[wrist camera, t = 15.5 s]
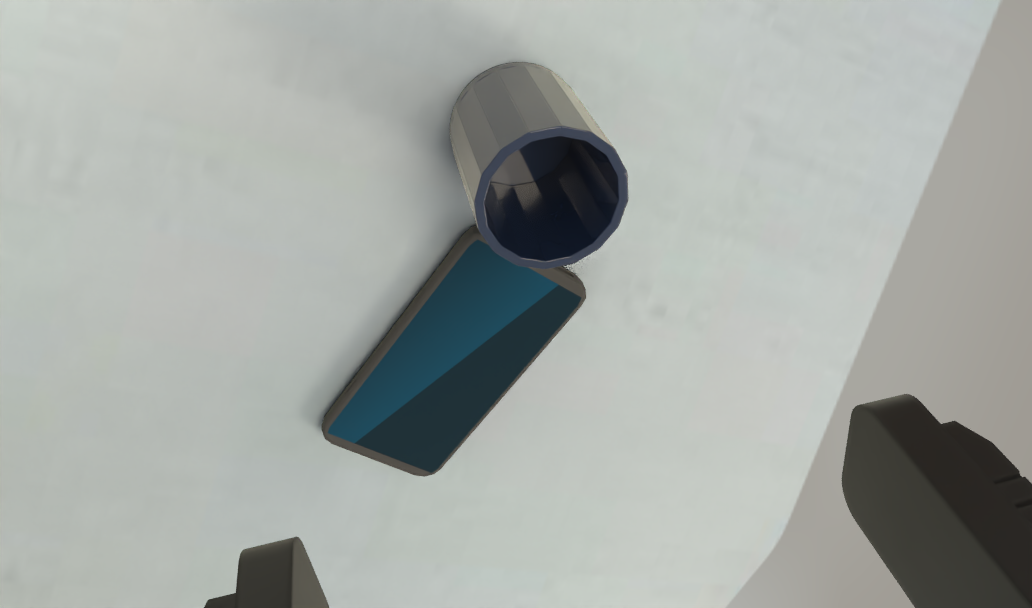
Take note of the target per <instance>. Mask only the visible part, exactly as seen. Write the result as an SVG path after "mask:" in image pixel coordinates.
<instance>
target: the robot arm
mask: <svg viewBox="0 0 1032 608" xmlns="http://www.w3.org/2000/svg"><path fill="white" fill-rule="evenodd" d="M842 487H843V492H844V496H845V500H846V503H847V505H848V508H849V510H850V512H851V514H852V516H853V517H854V519H855V521H856V522H857V524H858V525H859V527H860V528H861V530H862V531H863V532H864V534H865V535H866V537H867V538H868V540H869V541H870V543H871V544H872V545H873V547H874V548H875V550H876V551H877V553H878V554H879V556H880V557H881V559H882V560H883V562H884V563H885V564H886V566H887V567H888V569H889V570H890V572H891V573H892V575H893V576H894V578H895V579H896V580H897V582H898V583H899V585H900V586H901V588H902V589H903V591H904V592H905V594H906V595H907V596H908V598H909V599H910V601H911V602H912V604H913V605H914V607H915V608H1032V484H1031V483H1030V482H1029V481H1028V480H1027V479H1026V477H1021V476H1020V474H1019V470H1018V469H1017V468H1016V467H1015V466H1014V465H1013V464H1012V463H1011V462H1010V461H1009V460H1008V459H1007V458H1006V457H1005V456H1004V455H1003V453H1002V452H1001V451H1000V450H999V449H998V448H997V447H996V446H995V445H994V444H993V443H992V442H990V441H989V440H987V439H985V438H983V437H982V436H980V435H978V434H977V433H975V432H973V431H971V430H970V429H968V428H966V427H964V426H963V425H961V424H959V423H958V422H956V421H952V422H948V423H944V424H940V423H939V422H938V421H937V420H936V419H935V417H934V416H933V415H932V414H931V413H930V412H929V411H928V410H927V408H926V407H925V406H924V405H923V404H922V403H921V402H920V401H919V400H918V399H917V398H915V397H914V396H912V395H909V394H904V395H899V396H895V397H891V398H886V399H882V400H878V401H874V402H870V403H866V404H861V405H858V406H856V407H855V408H854V409H853V411H852V414H851V419H850V426H849V433H848V440H847V446H846V452H845V459H844V466H843V472H842ZM204 608H329V606H328V602H327V600H326V597H325V595H324V593H323V590H322V588H321V586H320V583H319V581H318V578H317V576H316V574H315V571H314V569H313V567H312V564H311V562H310V559H309V557H308V555H307V552H306V550H305V548H304V545H303V543H302V541H301V540H300V538H299V537H294V538H290V539H286V540H281V541H277V542H273V543H269V544H265V545H260V546H256V547H252V548H248V549H244V550H243V551H242V552H241V554H240V558H239V565H238V576H237V587H236V593H234V594H230V595H226V596H222V597H218V598H213V599H209V600H208V601H207V603H206V605H205V607H204Z"/></svg>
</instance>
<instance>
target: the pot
mask: <svg viewBox="0 0 1032 608" xmlns="http://www.w3.org/2000/svg"><path fill="white" fill-rule="evenodd" d="M450 140H451V144H452V148H453V153H454V158H455V161H456V164H457V167H458V170H459V173H460V176H461V179H462V182H463V185H464V188H465V191H466V194H467V197H468V200H469V203H470V206H471V209H472V212H473V215H474V218H475V222H476V225H477V228H478V230H479V232H480V233H481V235H482V236H483V238H484V239H485V241H486V242H487V243H488V245H489V246H490V248H491V249H492V250H493V251H494V252H495V253H496V254H498V255H500V256H501V257H503V258H505V259H507V260H508V261H510V262H512V263H514V264H515V265H518V266H524V267H531V268H538V269H550V268H555V267H560V266H565V265H569V264H573V263H576V262H577V261H579V260H581V259H582V258H584V257H586V256H588V255H589V254H591V253H593V252H594V251H596V250H598V249H599V248H600V247H601V246H602V245H603V244H604V243H605V241H606V240H607V239H608V238H609V237H610V236H611V235H612V233H613V232H614V231H615V230H616V229H617V228H618V226H619V224H620V221H621V218H622V216H623V213H624V210H625V208H626V205H627V202H628V177H627V171H626V169H625V167H624V165H623V163H622V161H621V159H620V157H619V156H618V154H617V152H616V150H615V148H614V147H613V146H612V144H611V143H610V141H609V140H608V139H607V137H606V136H605V134H604V133H603V132H602V130H601V129H600V128H599V126H598V125H597V123H596V122H595V121H594V119H593V118H592V116H591V115H590V114H589V112H588V111H587V110H586V108H585V107H584V105H583V104H582V103H581V101H580V100H579V98H578V97H577V96H576V94H575V93H574V91H573V90H572V89H571V87H570V86H569V85H568V84H566V83H565V82H564V80H563V79H562V78H560V77H559V76H558V75H557V74H556V73H554V72H552V71H551V70H549V69H547V68H545V67H543V66H540V65H536V64H533V63H526V62H514V63H506V64H502V65H498V66H496V67H493V68H491V69H489V70H487V71H485V72H483V73H482V74H480V75H479V76H477V77H476V78H475V79H474V80H472V81H471V82H470V83H469V84H468V85H467V87H466V88H465V89H464V90H463V91H462V93H461V94H460V96H459V98H458V99H457V101H456V103H455V106H454V108H453V111H452V115H451V120H450Z"/></svg>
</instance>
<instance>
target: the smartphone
mask: <svg viewBox="0 0 1032 608" xmlns="http://www.w3.org/2000/svg"><path fill="white" fill-rule="evenodd" d="M585 299H586V291H585V287H584V285H583V283H582V281H581V280H580V279H579V278H578V277H577V276H576V275H575V274H574V273H572V272H571V271H569V270H567V269H565V268H564V267H562V266H560V267H555V268H550V269H538V268H531V267H524V266H518V265H515V264H514V263H512V262H510V261H508V260H507V259H505V258H503V257H501V256H500V255H498V254H496V253H495V252H494V251H493V250H492V249H491V248H490V246H489V245H488V243H487V242H486V241H485V239H484V238H483V236H482V235H481V233H480V232H479V230H478V228H477V226H473V227H471V228H470V229H469V230H468V231H467V232H465V233H464V234H463V235H462V237H461V238H460V239H459V241H458V242H457V243H456V244H455V246H454V247H453V248H452V250H451V251H450V252H449V254H448V255H447V256H446V258H445V259H444V260H443V262H442V263H441V264H440V265H439V267H438V268H437V269H436V271H435V272H434V273H433V275H432V276H431V277H430V279H429V280H428V281H427V283H426V284H425V285H424V286H423V288H422V289H421V290H420V292H419V293H418V294H417V296H416V297H415V298H414V300H413V301H412V302H411V304H410V305H409V306H408V307H407V309H406V310H405V311H404V313H403V314H402V315H401V317H400V318H399V319H398V321H397V322H396V323H395V325H394V326H393V327H392V328H391V330H390V331H389V332H388V334H387V335H386V336H385V338H384V339H383V340H382V342H381V343H380V344H379V346H378V347H377V348H376V350H375V351H374V352H373V353H372V355H371V356H370V357H369V359H368V360H367V361H366V363H365V364H364V365H363V367H362V368H361V369H360V371H359V372H358V373H357V374H356V376H355V377H354V378H353V380H352V381H351V382H350V384H349V385H348V386H347V388H346V389H345V390H344V392H343V393H342V394H341V395H340V397H339V398H338V399H337V401H336V402H335V403H334V405H333V406H332V407H331V409H330V410H329V411H328V413H327V414H326V415H325V417H324V420H323V423H322V432H323V435H324V437H325V439H326V440H328V441H329V442H330V443H332V444H334V445H337V446H339V447H342V448H345V449H347V450H350V451H352V452H355V453H358V454H360V455H363V456H366V457H368V458H371V459H373V460H376V461H379V462H381V463H384V464H387V465H389V466H392V467H395V468H397V469H400V470H402V471H405V472H408V473H410V474H413V475H417V476H428V475H432V474H434V473H436V472H437V471H439V470H440V469H441V468H442V467H443V466H444V464H445V463H446V462H447V461H448V460H449V459H450V458H451V456H452V455H453V454H454V453H455V452H456V451H457V449H458V448H459V447H460V446H461V445H462V444H463V442H464V441H465V440H466V439H467V438H468V437H469V435H470V434H471V433H472V432H473V431H474V430H475V429H476V427H477V426H478V425H479V424H480V423H481V422H482V420H483V419H484V418H485V417H486V416H487V415H488V413H489V412H490V411H491V410H492V409H493V408H494V407H495V405H496V404H497V403H498V402H499V401H500V400H501V398H502V397H503V396H504V395H505V394H506V393H507V391H508V390H509V389H510V388H511V387H512V386H513V384H514V383H515V382H516V381H517V380H518V379H519V378H520V376H521V375H522V374H523V373H524V372H525V371H526V369H527V368H528V367H529V366H530V365H531V364H532V362H533V361H534V360H535V359H536V358H537V357H538V355H539V354H540V353H541V352H542V351H543V350H544V349H545V347H546V346H547V345H548V344H549V343H550V342H551V340H552V339H553V338H554V337H555V336H556V335H557V333H558V332H559V331H560V330H561V329H562V328H563V327H564V325H565V324H566V323H567V322H568V321H569V320H570V318H571V317H572V316H573V315H574V314H575V313H576V311H577V310H578V309H579V308H580V307H581V305H582V304H583V302H584V300H585Z"/></svg>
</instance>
